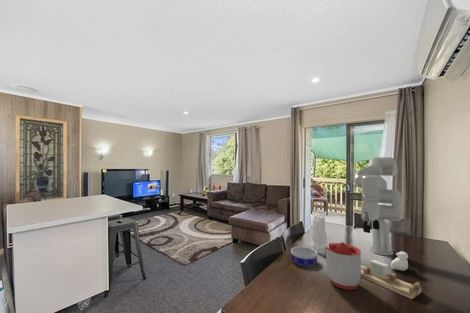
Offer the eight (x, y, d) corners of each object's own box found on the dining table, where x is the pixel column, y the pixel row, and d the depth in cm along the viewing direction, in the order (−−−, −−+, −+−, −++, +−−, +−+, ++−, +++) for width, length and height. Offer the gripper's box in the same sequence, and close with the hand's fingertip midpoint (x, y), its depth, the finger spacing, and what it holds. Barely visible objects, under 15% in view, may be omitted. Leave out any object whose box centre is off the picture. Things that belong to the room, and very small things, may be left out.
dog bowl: (294, 254, 138) (294, 244, 139) (319, 259, 131) (319, 249, 131) (288, 263, 125) (287, 252, 126) (314, 269, 118) (314, 258, 118)
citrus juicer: (327, 271, 114) (326, 234, 116) (364, 282, 103) (363, 241, 105) (318, 283, 102) (317, 242, 103) (359, 297, 91) (357, 250, 92)
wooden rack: (355, 266, 121) (355, 258, 121) (421, 292, 95) (421, 282, 95) (345, 270, 116) (344, 262, 116) (411, 299, 90) (411, 288, 90)
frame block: (373, 272, 110) (373, 259, 110) (389, 278, 104) (388, 264, 104) (370, 273, 108) (369, 260, 108) (385, 280, 102) (385, 266, 102)
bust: (394, 275, 114) (408, 264, 109) (382, 262, 120) (395, 251, 114) (407, 271, 119) (421, 260, 114) (395, 258, 125) (407, 247, 119)
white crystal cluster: (325, 255, 137) (324, 216, 138) (309, 251, 143) (308, 214, 145) (329, 249, 145) (328, 213, 147) (313, 246, 152) (313, 211, 153)
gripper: (371, 196, 121) (372, 226, 121) (354, 199, 112) (355, 231, 112) (385, 198, 115) (387, 229, 114) (369, 201, 106) (370, 235, 105)
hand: (371, 230), depth 113 cm, fingers open, 9 cm apart
